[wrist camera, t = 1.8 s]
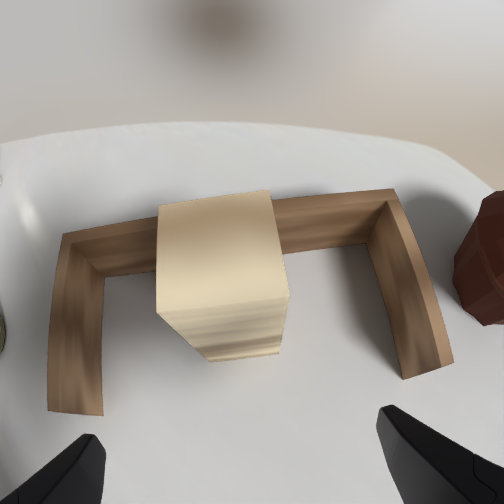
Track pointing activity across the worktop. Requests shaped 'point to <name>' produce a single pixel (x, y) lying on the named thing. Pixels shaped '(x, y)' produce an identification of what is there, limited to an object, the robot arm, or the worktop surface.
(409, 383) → the worktop surface
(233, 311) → the ash block
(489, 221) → the muffin
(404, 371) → the u-shaped wooden wall
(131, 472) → the worktop surface
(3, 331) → the bottle
